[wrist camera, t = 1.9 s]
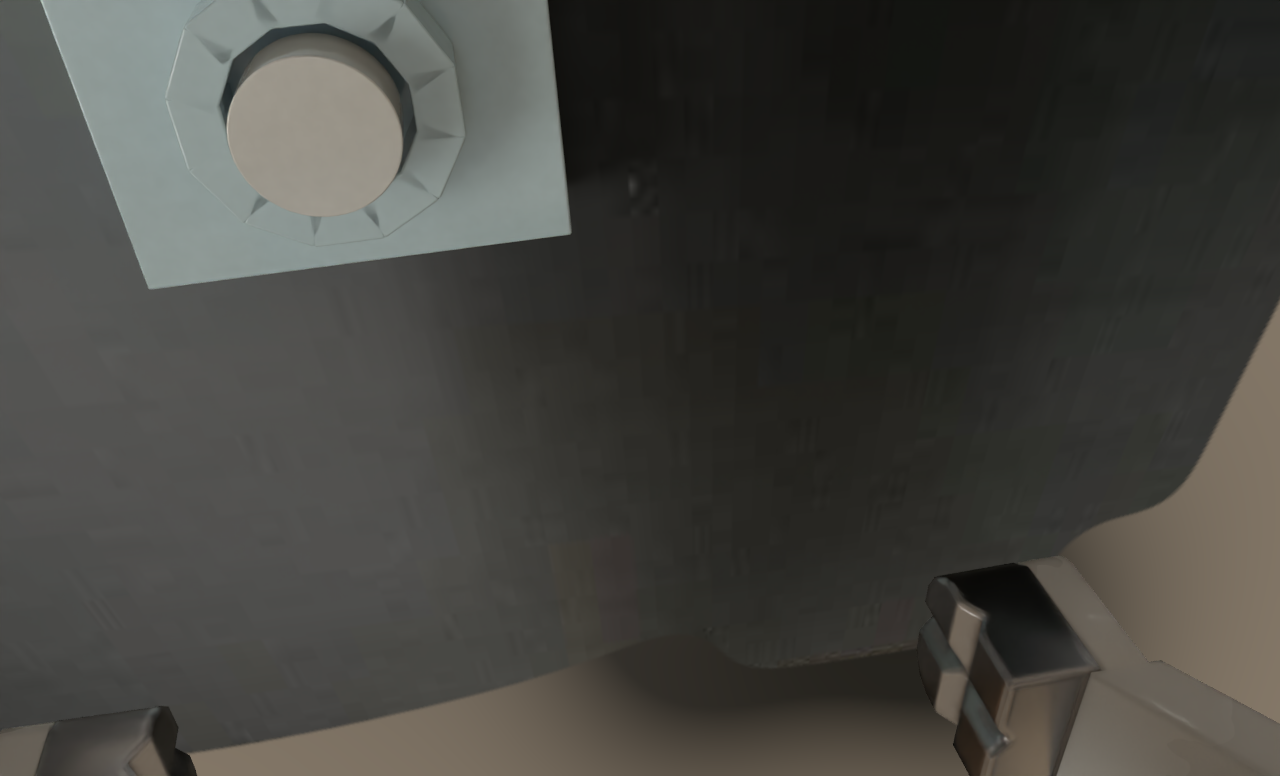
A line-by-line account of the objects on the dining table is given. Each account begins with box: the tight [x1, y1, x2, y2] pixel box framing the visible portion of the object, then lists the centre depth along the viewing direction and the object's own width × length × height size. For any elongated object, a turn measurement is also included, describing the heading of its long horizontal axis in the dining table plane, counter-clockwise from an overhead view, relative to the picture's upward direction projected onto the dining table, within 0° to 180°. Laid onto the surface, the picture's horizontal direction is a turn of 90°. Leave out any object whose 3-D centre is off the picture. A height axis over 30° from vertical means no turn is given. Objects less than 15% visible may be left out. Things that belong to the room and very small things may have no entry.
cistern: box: [40, 0, 572, 289], centre depth 28 cm, size 12×10×5 cm
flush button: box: [226, 33, 404, 217], centre depth 26 cm, size 4×4×2 cm
